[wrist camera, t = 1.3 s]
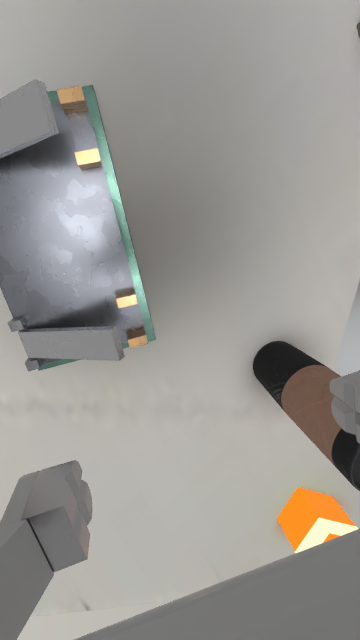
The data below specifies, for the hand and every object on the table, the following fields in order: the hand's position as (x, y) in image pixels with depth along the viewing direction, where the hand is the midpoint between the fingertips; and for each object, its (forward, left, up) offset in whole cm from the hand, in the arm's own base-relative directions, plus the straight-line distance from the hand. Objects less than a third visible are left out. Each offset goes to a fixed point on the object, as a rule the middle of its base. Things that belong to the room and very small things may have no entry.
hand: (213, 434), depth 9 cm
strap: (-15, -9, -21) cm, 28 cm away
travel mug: (+17, +16, -30) cm, 38 cm away
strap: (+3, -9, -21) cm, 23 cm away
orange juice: (+49, +19, -30) cm, 61 cm away
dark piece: (-6, -8, -30) cm, 31 cm away
